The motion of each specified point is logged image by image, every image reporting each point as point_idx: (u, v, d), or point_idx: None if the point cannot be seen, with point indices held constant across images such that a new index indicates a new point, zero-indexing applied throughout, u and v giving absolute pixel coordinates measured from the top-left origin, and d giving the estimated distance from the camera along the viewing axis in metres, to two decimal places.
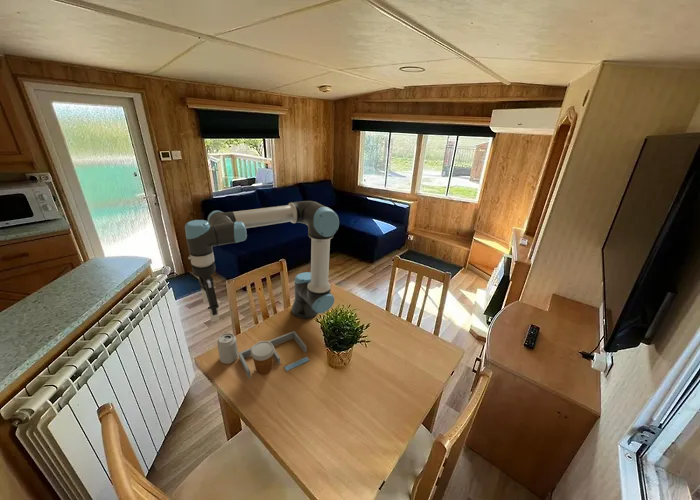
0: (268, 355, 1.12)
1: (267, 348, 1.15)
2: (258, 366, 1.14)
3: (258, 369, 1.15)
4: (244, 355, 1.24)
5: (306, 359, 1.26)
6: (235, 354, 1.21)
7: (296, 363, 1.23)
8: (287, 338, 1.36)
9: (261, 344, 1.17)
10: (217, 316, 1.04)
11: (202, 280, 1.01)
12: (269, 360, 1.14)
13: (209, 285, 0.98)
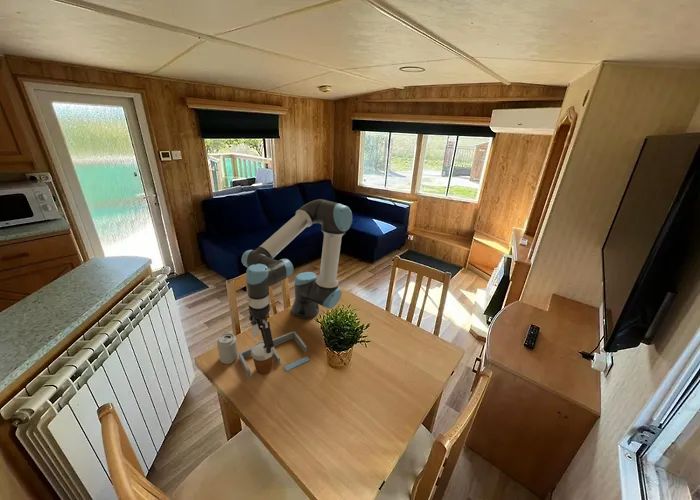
0: None
1: None
2: (258, 366, 1.14)
3: (258, 369, 1.15)
4: (244, 355, 1.24)
5: (306, 359, 1.26)
6: (235, 354, 1.21)
7: (296, 363, 1.23)
8: (287, 338, 1.36)
9: (261, 344, 1.17)
10: (270, 353, 1.09)
11: (257, 320, 1.06)
12: (269, 360, 1.14)
13: (266, 326, 1.03)
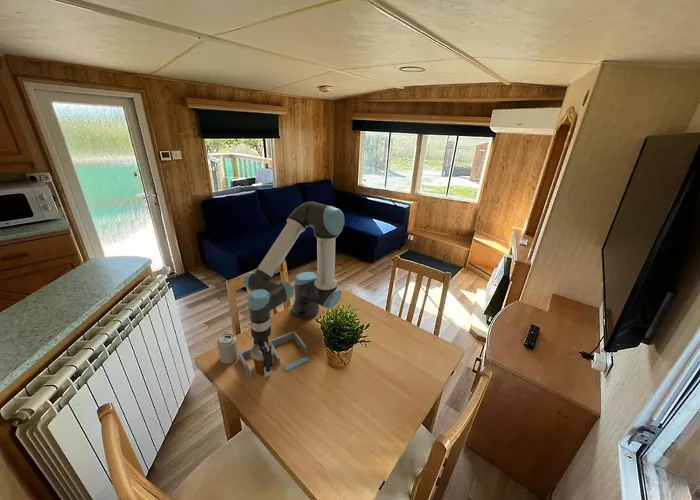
0: None
1: None
2: (258, 366, 1.14)
3: (258, 369, 1.15)
4: (244, 355, 1.24)
5: (306, 359, 1.26)
6: (235, 354, 1.21)
7: (296, 363, 1.23)
8: (287, 338, 1.36)
9: None
10: (270, 372, 1.16)
11: (260, 342, 1.10)
12: None
13: (267, 350, 1.08)
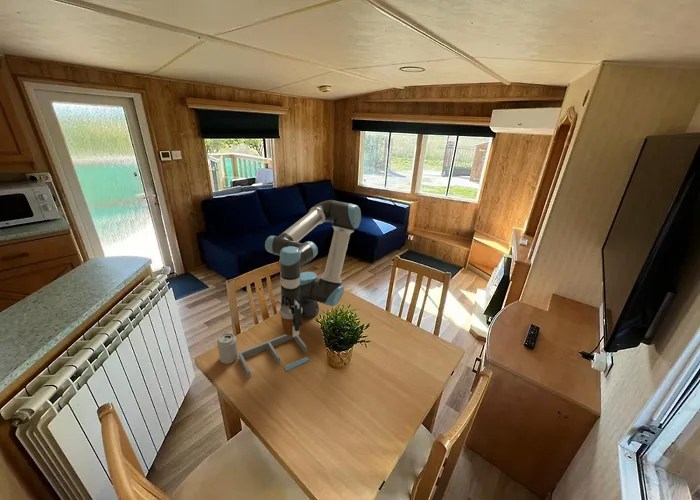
0: None
1: None
2: (286, 325, 1.15)
3: (286, 329, 1.16)
4: (244, 355, 1.24)
5: (306, 359, 1.26)
6: (235, 354, 1.21)
7: (296, 363, 1.23)
8: (287, 338, 1.36)
9: None
10: (298, 332, 1.17)
11: (289, 300, 1.11)
12: None
13: (298, 307, 1.09)
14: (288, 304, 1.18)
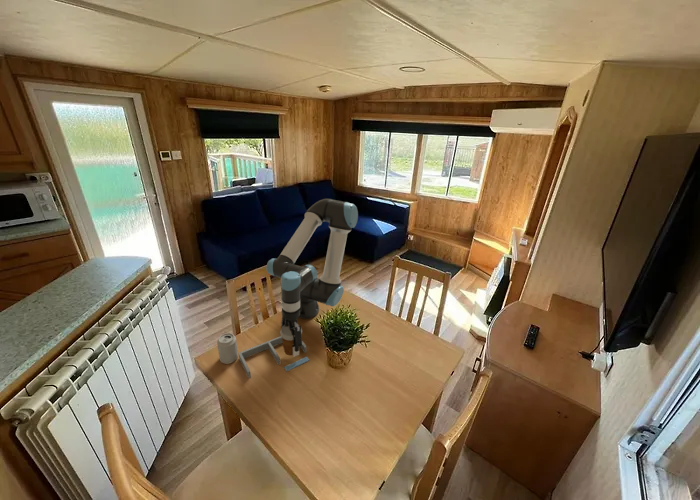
0: None
1: None
2: (287, 346, 1.19)
3: (287, 349, 1.21)
4: (244, 355, 1.24)
5: (306, 359, 1.26)
6: (235, 354, 1.21)
7: (296, 363, 1.23)
8: None
9: None
10: (298, 352, 1.21)
11: (290, 322, 1.16)
12: None
13: (298, 329, 1.14)
14: (288, 325, 1.22)
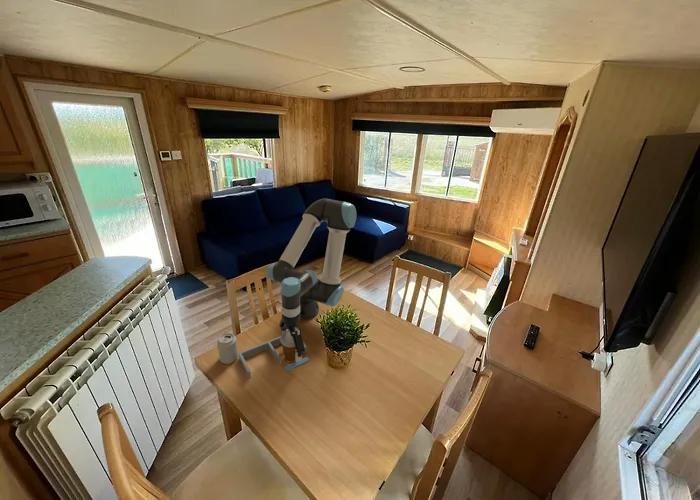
0: None
1: None
2: (287, 352, 1.22)
3: (287, 356, 1.23)
4: (244, 355, 1.24)
5: (306, 359, 1.26)
6: (235, 354, 1.21)
7: (296, 363, 1.23)
8: None
9: None
10: (300, 357, 1.20)
11: (290, 327, 1.17)
12: None
13: (298, 333, 1.14)
14: (287, 327, 1.24)
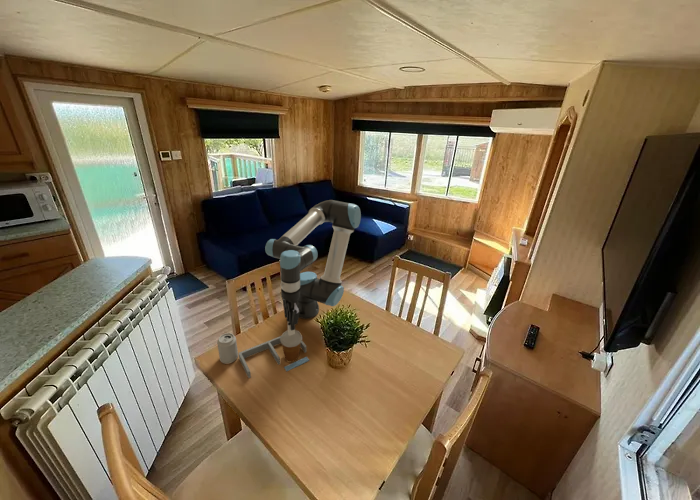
0: (297, 342, 1.20)
1: (296, 336, 1.23)
2: (287, 352, 1.22)
3: (287, 356, 1.23)
4: (244, 355, 1.24)
5: (306, 359, 1.26)
6: (235, 354, 1.21)
7: (296, 363, 1.23)
8: None
9: None
10: (293, 331, 1.21)
11: (289, 304, 1.12)
12: (297, 347, 1.22)
13: (297, 312, 1.11)
14: None
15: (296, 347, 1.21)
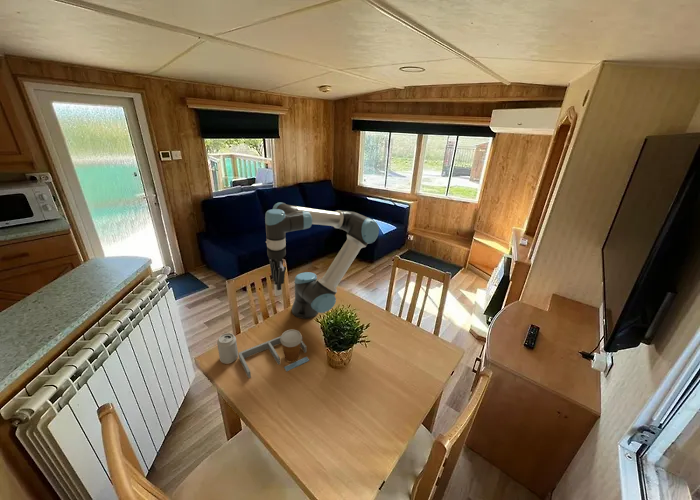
0: (297, 342, 1.20)
1: (296, 336, 1.23)
2: (287, 352, 1.22)
3: (287, 356, 1.23)
4: (244, 355, 1.24)
5: (306, 359, 1.26)
6: (235, 354, 1.21)
7: (296, 363, 1.23)
8: None
9: (290, 333, 1.25)
10: (280, 291, 1.24)
11: (275, 263, 1.16)
12: (297, 347, 1.22)
13: (282, 270, 1.15)
14: None
15: (296, 347, 1.21)
